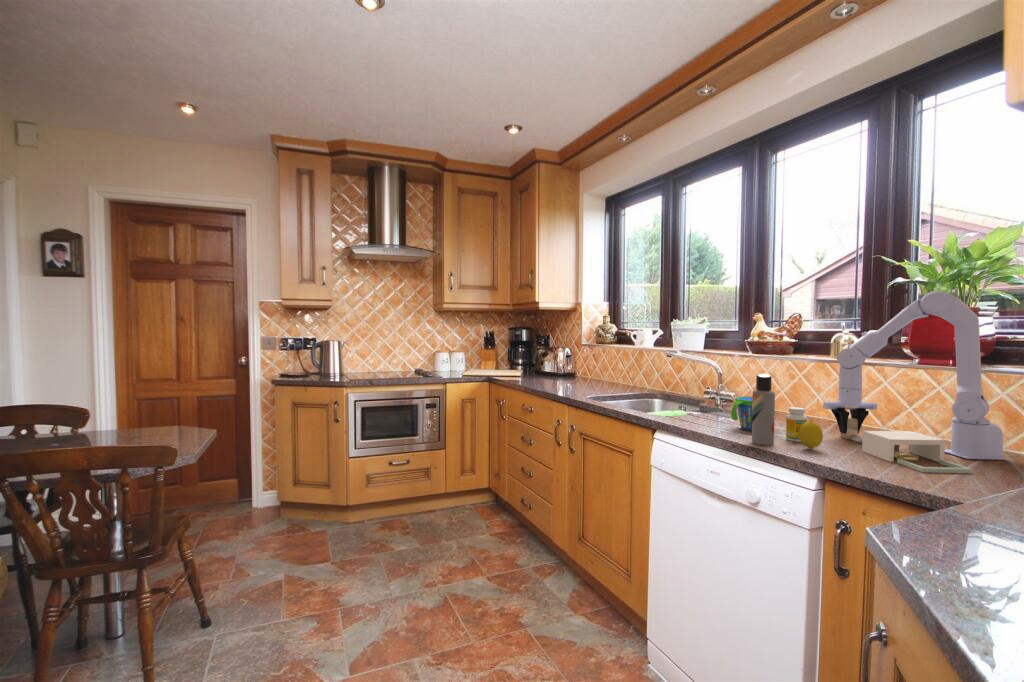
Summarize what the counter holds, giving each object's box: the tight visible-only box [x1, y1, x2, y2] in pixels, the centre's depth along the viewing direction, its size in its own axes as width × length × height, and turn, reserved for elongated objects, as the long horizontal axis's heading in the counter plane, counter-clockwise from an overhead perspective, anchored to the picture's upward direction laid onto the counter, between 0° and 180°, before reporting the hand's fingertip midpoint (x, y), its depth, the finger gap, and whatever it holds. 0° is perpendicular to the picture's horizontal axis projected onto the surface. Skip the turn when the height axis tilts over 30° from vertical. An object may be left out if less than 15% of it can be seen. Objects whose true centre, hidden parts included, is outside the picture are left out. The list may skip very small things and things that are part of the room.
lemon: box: [799, 420, 824, 450], centre depth 130 cm, size 6×6×8 cm
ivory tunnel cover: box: [861, 430, 946, 463], centre depth 123 cm, size 13×10×6 cm
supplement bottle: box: [785, 406, 808, 443], centre depth 141 cm, size 5×5×10 cm
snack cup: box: [730, 396, 753, 432], centre depth 156 cm, size 16×10×10 cm
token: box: [894, 451, 920, 462], centre depth 121 cm, size 5×5×1 cm
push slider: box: [840, 417, 900, 453], centre depth 136 cm, size 18×6×6 cm, turn 177°
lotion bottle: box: [751, 373, 776, 447], centre depth 136 cm, size 6×6×20 cm
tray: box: [896, 459, 973, 474], centre depth 113 cm, size 11×8×1 cm
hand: (849, 432), depth 143 cm, fingers closed on push slider, 3 cm apart
